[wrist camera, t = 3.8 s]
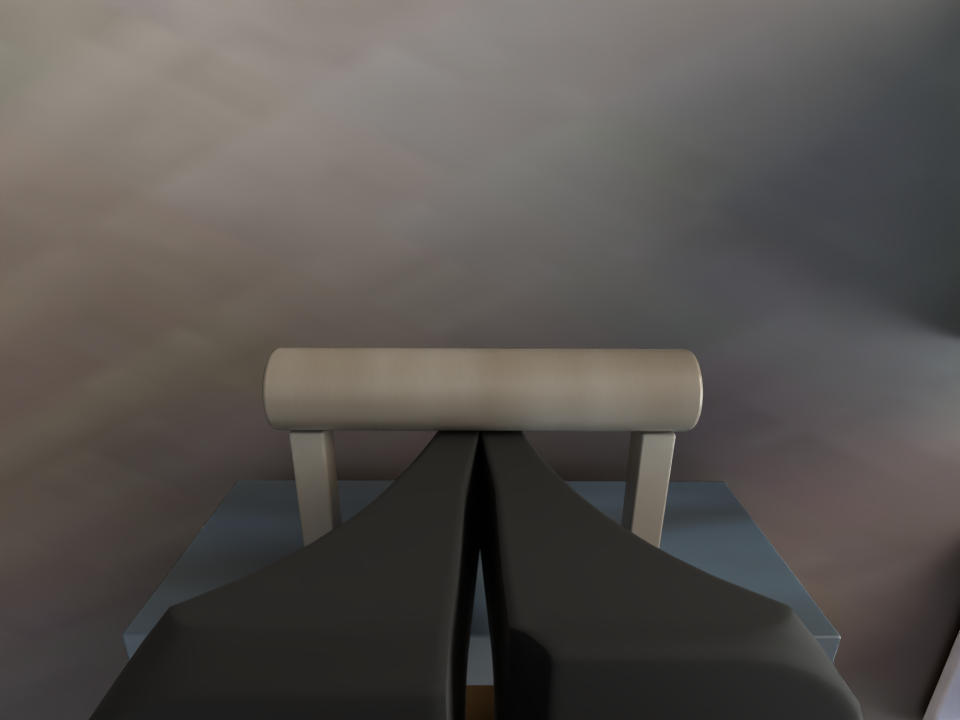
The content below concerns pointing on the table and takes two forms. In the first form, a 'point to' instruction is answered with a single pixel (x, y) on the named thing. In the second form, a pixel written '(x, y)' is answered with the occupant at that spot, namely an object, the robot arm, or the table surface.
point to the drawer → (482, 407)
